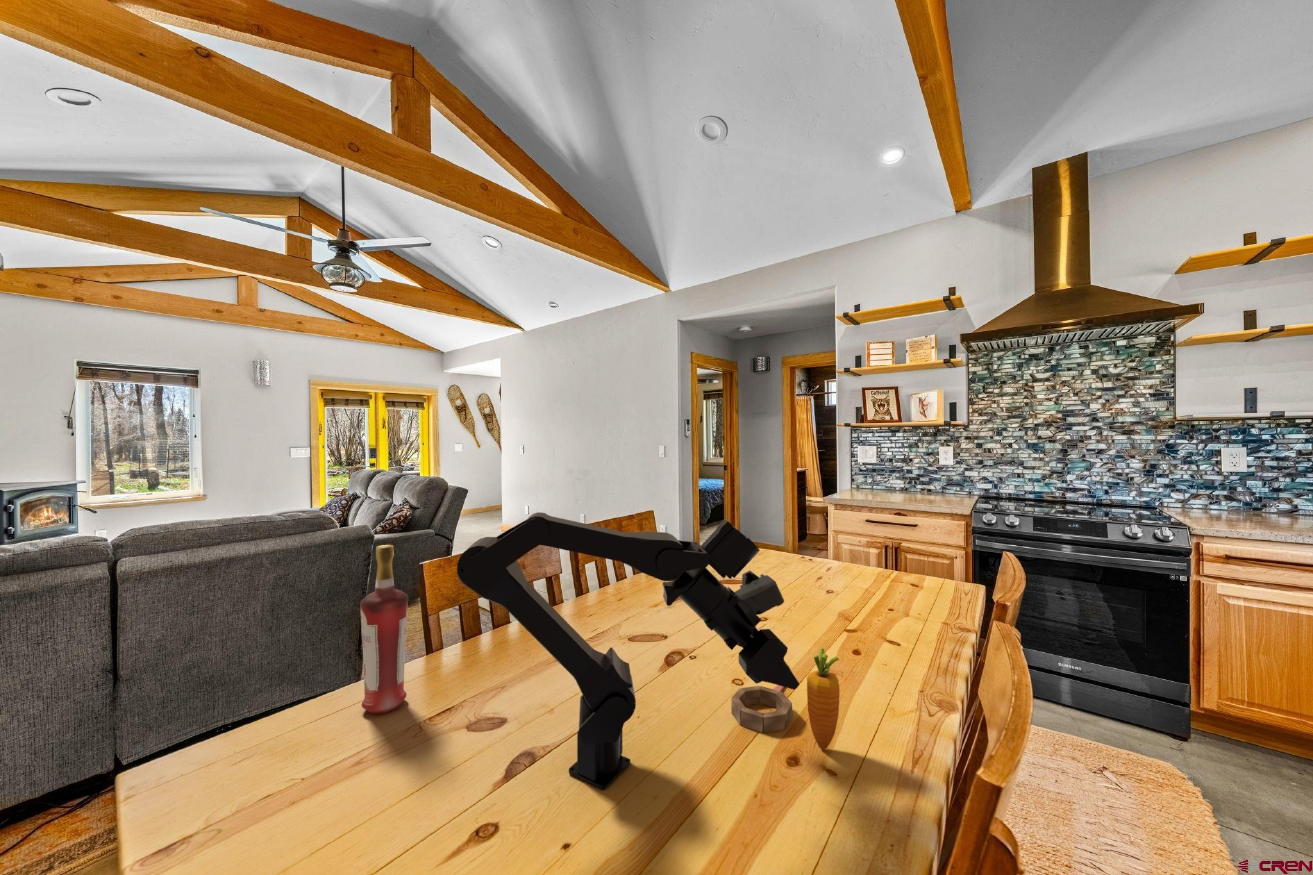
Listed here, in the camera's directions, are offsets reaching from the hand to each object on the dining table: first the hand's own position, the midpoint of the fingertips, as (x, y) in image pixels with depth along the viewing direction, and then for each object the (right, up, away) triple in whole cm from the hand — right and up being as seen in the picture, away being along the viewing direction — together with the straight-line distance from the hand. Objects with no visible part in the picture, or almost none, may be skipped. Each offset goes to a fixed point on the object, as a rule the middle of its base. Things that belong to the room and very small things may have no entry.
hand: (784, 671), depth 73 cm
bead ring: (-1, -12, +10) cm, 16 cm away
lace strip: (+4, -12, +21) cm, 25 cm away
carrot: (+6, -12, +1) cm, 14 cm away
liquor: (-67, -12, +12) cm, 69 cm away
